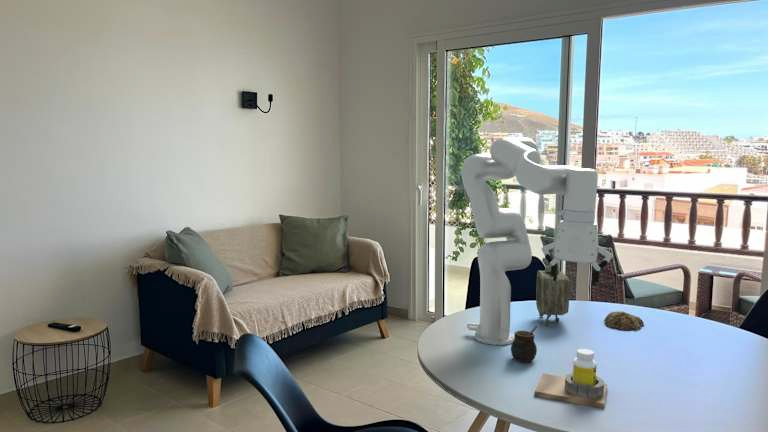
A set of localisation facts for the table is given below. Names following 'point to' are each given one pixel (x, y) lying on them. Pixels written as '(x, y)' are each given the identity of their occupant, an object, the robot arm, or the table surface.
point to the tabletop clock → (552, 294)
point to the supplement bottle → (584, 368)
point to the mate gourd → (524, 346)
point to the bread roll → (623, 321)
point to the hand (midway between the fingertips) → (574, 282)
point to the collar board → (561, 394)
